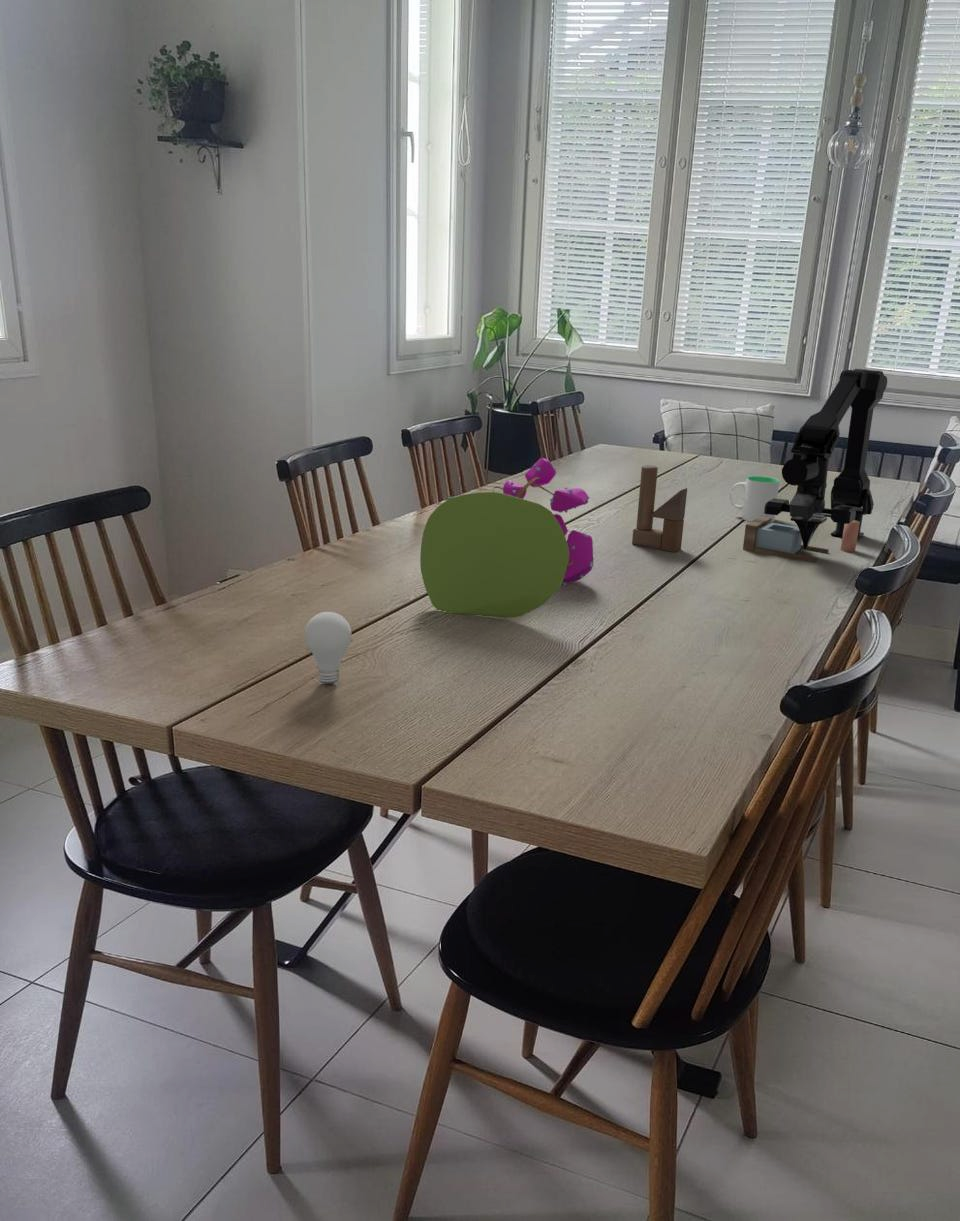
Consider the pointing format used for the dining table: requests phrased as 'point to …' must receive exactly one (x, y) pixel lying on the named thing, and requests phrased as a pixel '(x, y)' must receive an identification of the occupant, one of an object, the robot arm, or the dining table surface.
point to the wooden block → (658, 515)
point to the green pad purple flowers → (503, 549)
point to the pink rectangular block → (850, 536)
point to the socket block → (779, 538)
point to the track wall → (750, 545)
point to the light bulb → (328, 643)
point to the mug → (756, 496)
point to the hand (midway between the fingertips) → (805, 548)
